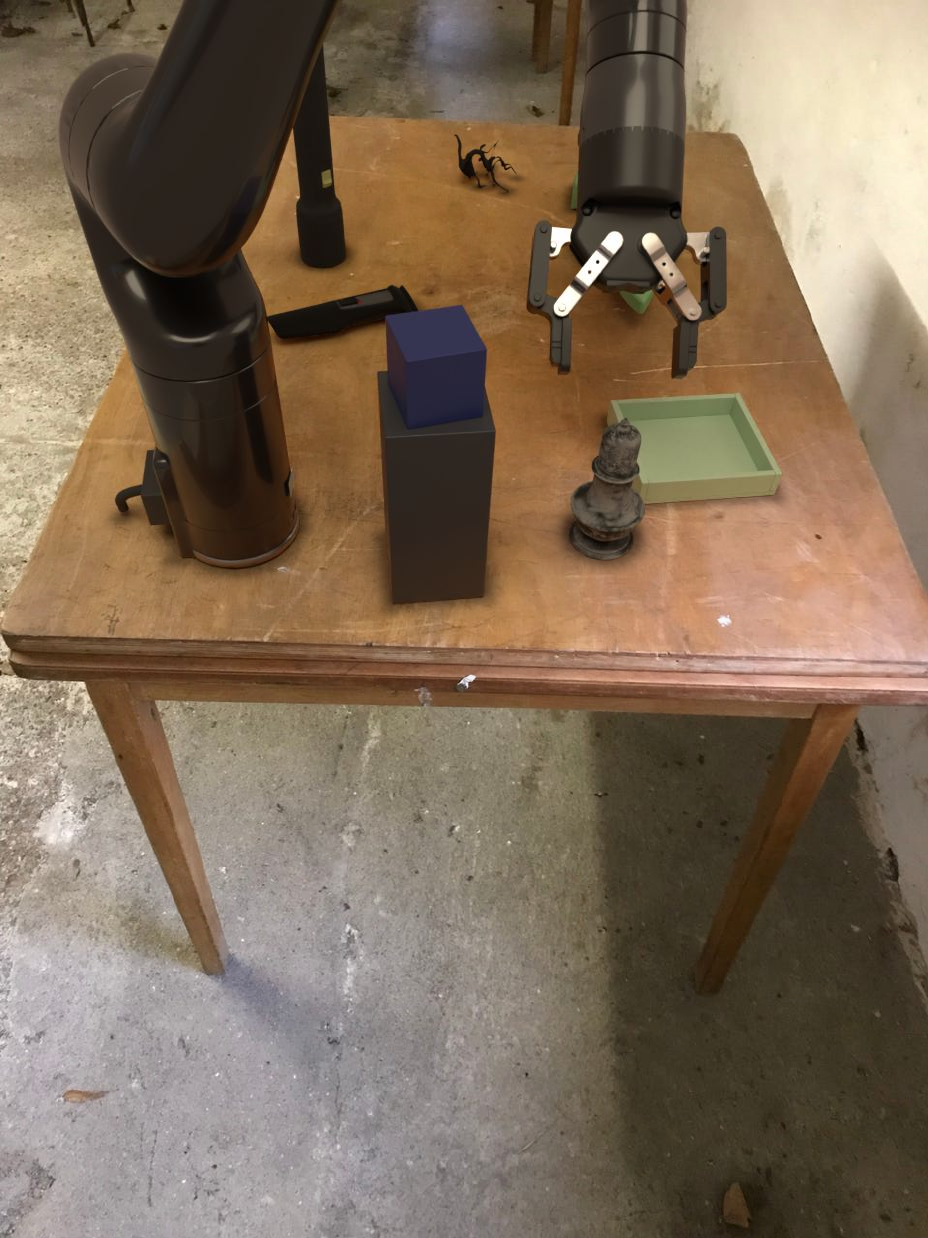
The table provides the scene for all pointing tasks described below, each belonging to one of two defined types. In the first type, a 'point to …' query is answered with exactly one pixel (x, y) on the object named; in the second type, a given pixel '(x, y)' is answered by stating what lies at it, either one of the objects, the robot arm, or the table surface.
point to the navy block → (435, 366)
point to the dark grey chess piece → (609, 497)
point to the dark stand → (435, 502)
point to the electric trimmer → (342, 313)
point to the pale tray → (697, 448)
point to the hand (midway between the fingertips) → (621, 375)
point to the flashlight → (317, 178)
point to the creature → (467, 164)
